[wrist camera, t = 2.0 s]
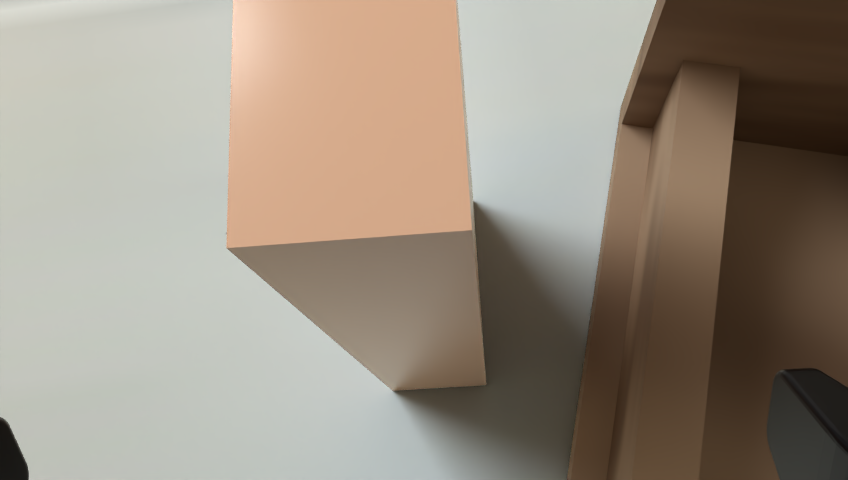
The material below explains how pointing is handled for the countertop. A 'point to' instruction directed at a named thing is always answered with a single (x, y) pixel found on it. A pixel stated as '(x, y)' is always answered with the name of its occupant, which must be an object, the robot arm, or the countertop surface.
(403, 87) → the clay strip
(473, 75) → the countertop surface
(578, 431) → the drying rack
